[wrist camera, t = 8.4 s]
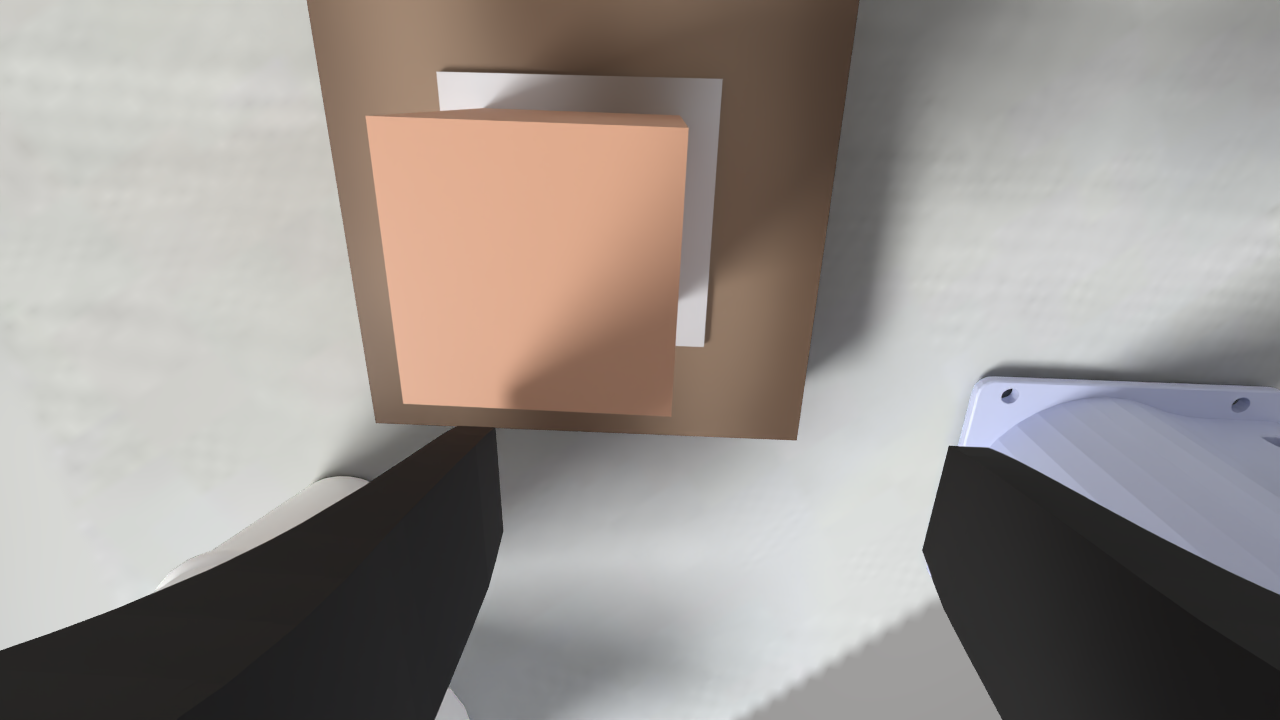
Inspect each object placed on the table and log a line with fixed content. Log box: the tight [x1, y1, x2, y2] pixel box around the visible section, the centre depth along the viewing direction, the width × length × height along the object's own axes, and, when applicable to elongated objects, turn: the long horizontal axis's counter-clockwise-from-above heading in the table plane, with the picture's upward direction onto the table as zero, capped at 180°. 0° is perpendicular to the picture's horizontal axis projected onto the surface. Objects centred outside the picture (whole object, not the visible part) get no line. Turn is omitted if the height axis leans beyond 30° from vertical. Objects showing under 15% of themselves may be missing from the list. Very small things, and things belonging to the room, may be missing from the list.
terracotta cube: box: [365, 108, 689, 417], centre depth 12 cm, size 4×4×6 cm
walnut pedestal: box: [307, 0, 859, 440], centre depth 17 cm, size 12×12×3 cm
